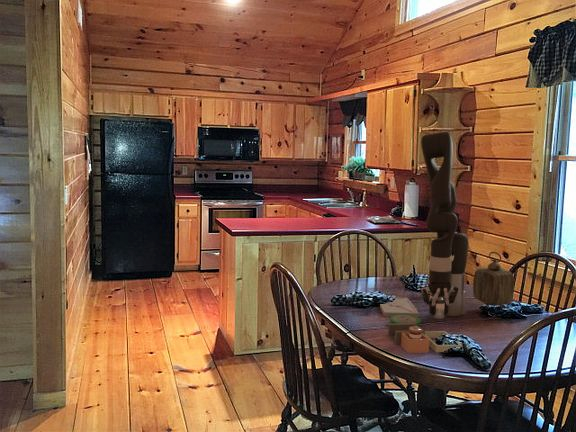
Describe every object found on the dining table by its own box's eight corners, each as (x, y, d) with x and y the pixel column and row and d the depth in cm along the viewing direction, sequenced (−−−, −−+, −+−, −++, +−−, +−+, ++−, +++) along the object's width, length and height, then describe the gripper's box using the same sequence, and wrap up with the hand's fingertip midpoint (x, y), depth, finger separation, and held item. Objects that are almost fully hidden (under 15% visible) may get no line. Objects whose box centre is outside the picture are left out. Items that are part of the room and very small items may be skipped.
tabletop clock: (512, 315, 219) (516, 254, 215) (494, 317, 215) (498, 256, 212) (487, 305, 232) (491, 248, 229) (470, 307, 229) (473, 249, 226)
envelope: (407, 302, 238) (376, 301, 238) (407, 297, 238) (376, 296, 238) (418, 318, 214) (384, 317, 214) (419, 312, 214) (384, 311, 214)
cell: (441, 314, 196) (442, 294, 195) (446, 318, 192) (447, 297, 191) (430, 315, 195) (431, 295, 194) (435, 319, 191) (436, 298, 190)
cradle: (412, 334, 194) (412, 320, 194) (424, 345, 183) (425, 331, 182) (385, 334, 193) (386, 321, 192) (395, 346, 182) (396, 332, 181)
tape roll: (384, 325, 204) (385, 319, 204) (399, 319, 212) (400, 312, 212) (410, 332, 197) (411, 325, 196) (425, 325, 205) (425, 319, 204)
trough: (444, 338, 191) (444, 330, 190) (462, 352, 177) (462, 345, 177) (419, 338, 190) (420, 331, 189) (436, 353, 176) (436, 346, 175)
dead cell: (418, 346, 181) (419, 324, 180) (422, 350, 177) (424, 328, 176) (406, 346, 180) (407, 324, 179) (410, 351, 176) (411, 328, 175)
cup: (420, 346, 182) (421, 332, 182) (428, 354, 175) (429, 339, 175) (400, 346, 181) (401, 332, 181) (408, 354, 175) (408, 340, 174)
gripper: (454, 265, 196) (452, 310, 198) (417, 266, 194) (415, 312, 196) (464, 270, 188) (462, 317, 191) (425, 271, 186) (424, 319, 189)
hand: (438, 314), depth 193 cm, fingers closed on cell, 4 cm apart
